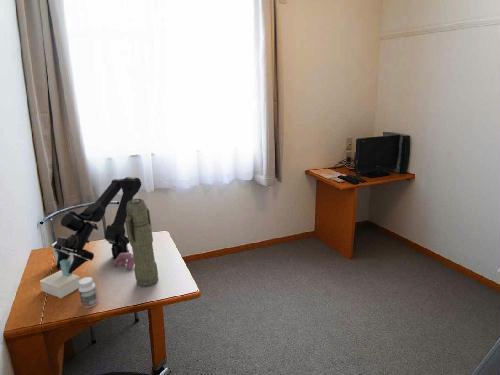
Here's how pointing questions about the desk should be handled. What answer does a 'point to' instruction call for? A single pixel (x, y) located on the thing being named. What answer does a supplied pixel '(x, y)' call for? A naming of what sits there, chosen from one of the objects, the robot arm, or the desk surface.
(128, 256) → the video game controller
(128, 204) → the olive tall rounded piece
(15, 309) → the desk surface
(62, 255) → the robot arm
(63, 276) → the flap
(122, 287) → the desk surface
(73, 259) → the small box
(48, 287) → the carton
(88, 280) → the pill bottle
